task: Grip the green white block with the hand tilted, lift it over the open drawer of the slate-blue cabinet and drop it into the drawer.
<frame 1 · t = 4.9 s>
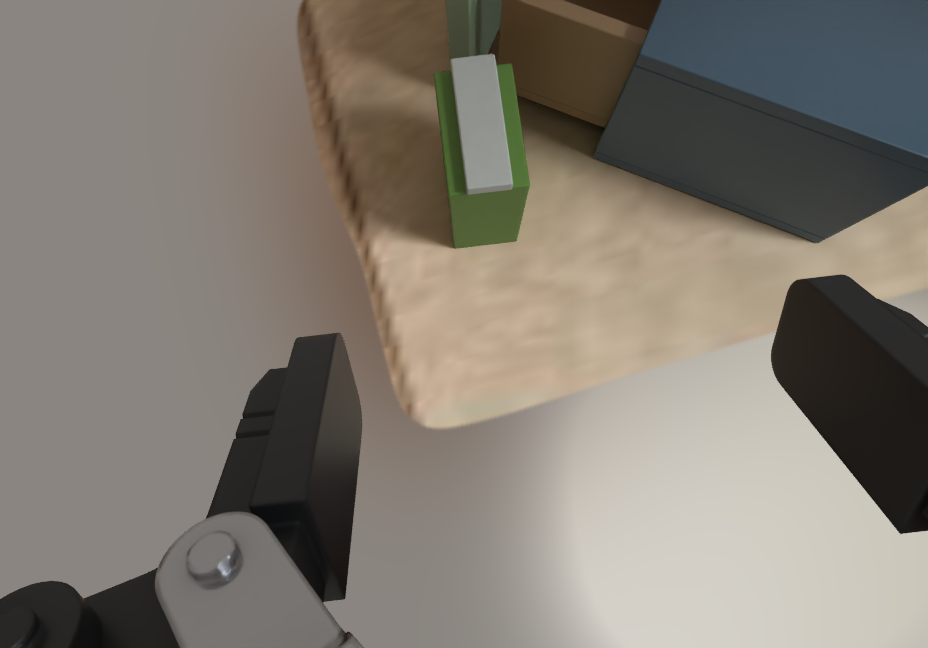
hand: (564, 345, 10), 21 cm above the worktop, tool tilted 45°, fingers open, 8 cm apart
green white block: (479, 195, 33), on the worktop
cabinet: (735, 114, 34), on the worktop
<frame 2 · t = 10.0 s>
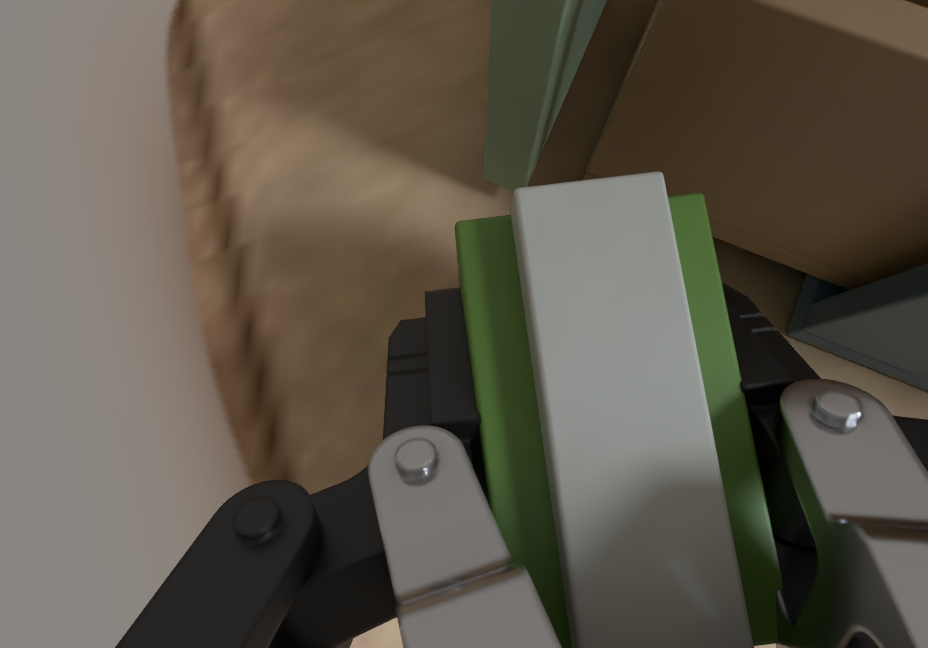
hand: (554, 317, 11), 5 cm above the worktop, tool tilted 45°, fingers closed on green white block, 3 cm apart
green white block: (542, 420, 15), on the worktop, touching gripper
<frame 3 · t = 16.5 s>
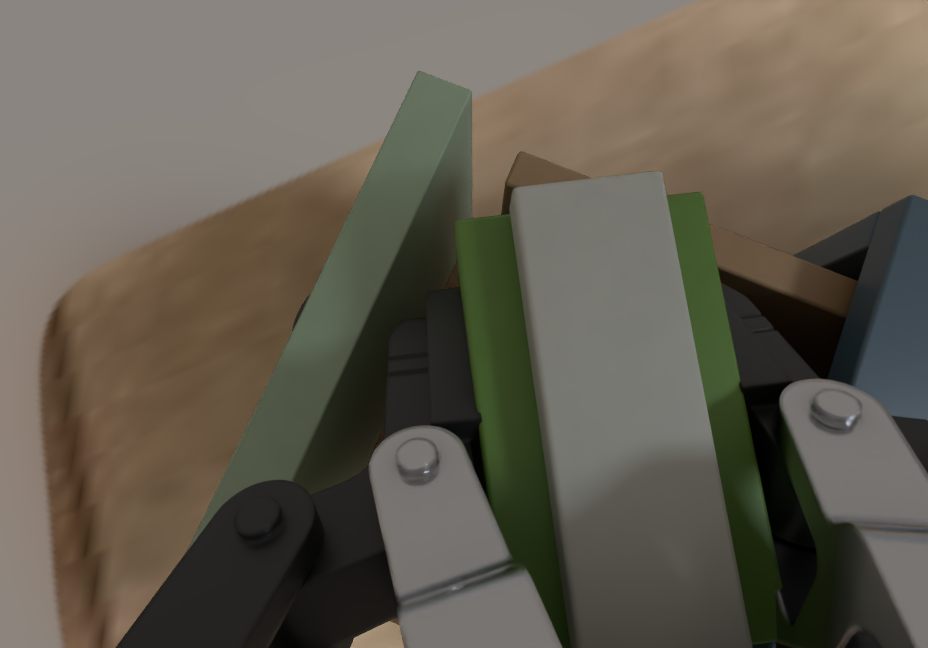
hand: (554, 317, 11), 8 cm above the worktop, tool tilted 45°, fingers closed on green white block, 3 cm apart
green white block: (542, 419, 15), point 4 cm above the worktop, touching gripper
drawer: (557, 423, 14), point 5 cm above the worktop, slide at 8.0 cm
cabinet: (842, 554, 18), on the worktop
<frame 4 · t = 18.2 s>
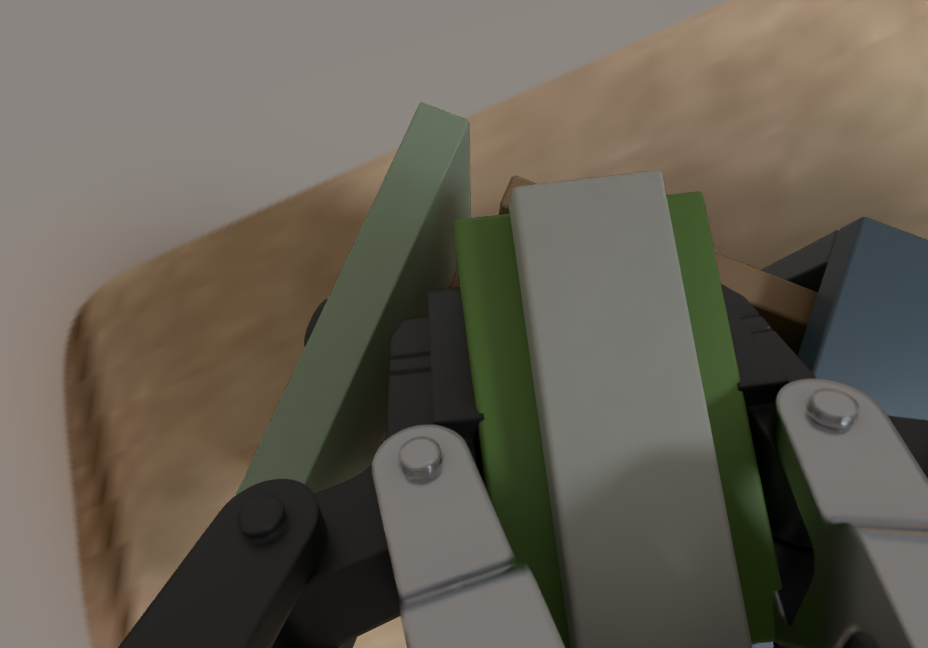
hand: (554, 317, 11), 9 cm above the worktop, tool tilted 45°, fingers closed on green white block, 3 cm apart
green white block: (541, 419, 15), point 5 cm above the worktop, touching gripper
drawer: (549, 422, 15), point 5 cm above the worktop, slide at 8.0 cm
cabinet: (819, 543, 19), on the worktop
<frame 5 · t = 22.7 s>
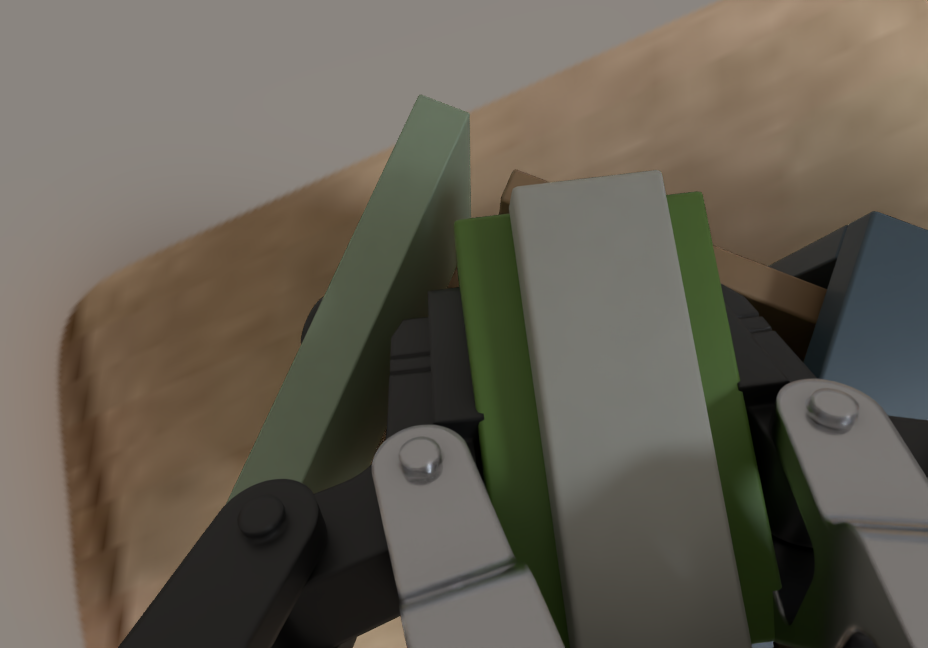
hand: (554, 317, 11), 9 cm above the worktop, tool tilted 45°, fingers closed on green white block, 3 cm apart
green white block: (541, 419, 15), point 4 cm above the worktop, touching gripper
drawer: (551, 422, 15), point 5 cm above the worktop, slide at 8.0 cm
cabinet: (825, 545, 19), on the worktop
when the fingers open (10 cm above the worktop, at t = 26.8 s): green white block drops 3 cm, resting on drawer.
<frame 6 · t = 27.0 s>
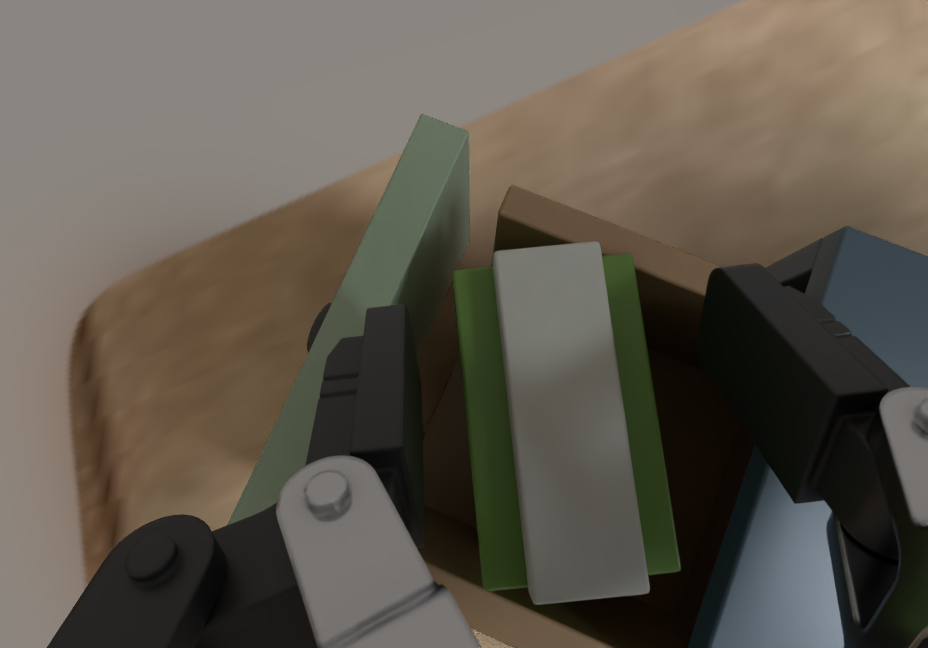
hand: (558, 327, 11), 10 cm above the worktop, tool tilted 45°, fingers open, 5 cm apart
green white block: (523, 417, 18), point 2 cm above the worktop, touching drawer
drawer: (546, 423, 16), point 5 cm above the worktop, slide at 8.0 cm, touching green white block
cabinet: (809, 542, 20), on the worktop
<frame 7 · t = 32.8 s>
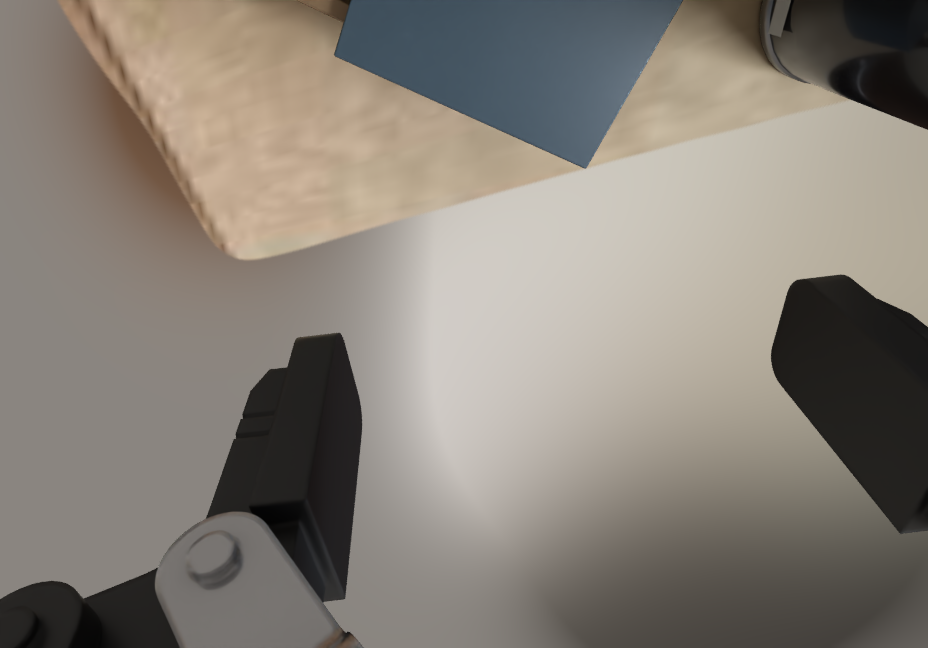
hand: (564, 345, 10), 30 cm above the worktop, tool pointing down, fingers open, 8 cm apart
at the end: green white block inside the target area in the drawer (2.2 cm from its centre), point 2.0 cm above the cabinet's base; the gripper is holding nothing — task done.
